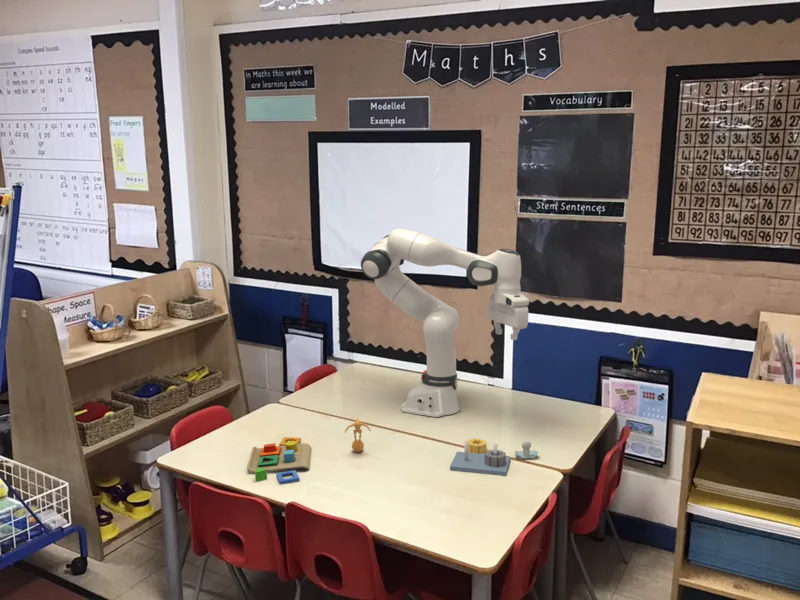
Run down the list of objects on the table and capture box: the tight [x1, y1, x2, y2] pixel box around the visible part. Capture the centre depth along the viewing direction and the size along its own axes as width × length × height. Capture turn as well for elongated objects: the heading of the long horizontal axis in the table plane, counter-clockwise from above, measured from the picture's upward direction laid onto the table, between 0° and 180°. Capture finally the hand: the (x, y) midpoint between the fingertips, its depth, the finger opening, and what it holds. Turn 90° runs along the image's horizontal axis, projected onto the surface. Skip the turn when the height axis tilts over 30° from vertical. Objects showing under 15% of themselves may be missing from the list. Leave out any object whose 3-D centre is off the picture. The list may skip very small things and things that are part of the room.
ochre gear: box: [467, 438, 487, 454], centre depth 230 cm, size 6×6×3 cm
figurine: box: [344, 418, 371, 453], centre depth 228 cm, size 8×6×12 cm
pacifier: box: [514, 440, 539, 460], centre depth 225 cm, size 7×6×6 cm
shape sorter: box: [246, 436, 312, 485], centre depth 223 cm, size 34×19×5 cm, turn 5°
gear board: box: [449, 440, 511, 477], centre depth 219 cm, size 17×12×7 cm
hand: (506, 336), depth 242 cm, fingers open, 8 cm apart
